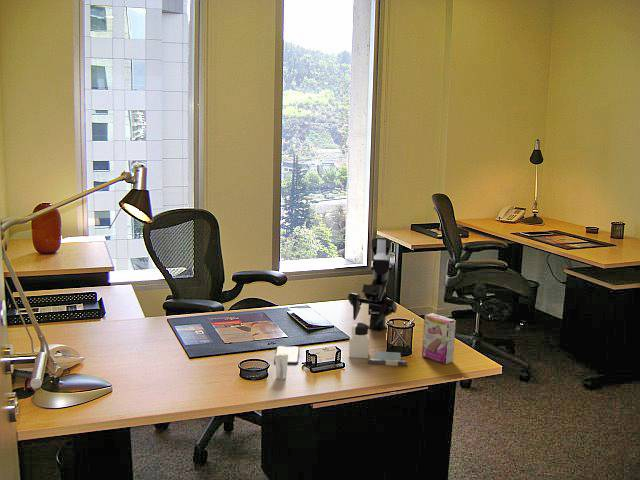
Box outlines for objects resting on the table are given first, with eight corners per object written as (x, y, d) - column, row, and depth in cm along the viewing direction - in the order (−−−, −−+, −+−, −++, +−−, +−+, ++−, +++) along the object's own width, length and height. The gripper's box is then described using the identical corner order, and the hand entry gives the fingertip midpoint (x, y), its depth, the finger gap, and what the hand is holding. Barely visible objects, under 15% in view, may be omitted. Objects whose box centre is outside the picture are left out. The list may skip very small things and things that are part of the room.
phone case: (298, 366, 253) (299, 350, 269) (298, 362, 253) (299, 346, 268) (273, 366, 253) (276, 349, 269) (273, 361, 253) (276, 345, 268)
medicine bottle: (368, 352, 268) (369, 321, 265) (367, 358, 261) (369, 327, 259) (349, 350, 269) (351, 320, 266) (348, 357, 262) (349, 326, 259)
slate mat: (374, 351, 268) (375, 351, 268) (400, 353, 267) (400, 352, 267) (374, 361, 259) (374, 360, 259) (400, 362, 258) (400, 361, 258)
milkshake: (272, 375, 243) (272, 347, 241) (287, 375, 243) (288, 347, 241) (272, 380, 238) (272, 352, 236) (288, 380, 239) (288, 352, 237)
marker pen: (368, 362, 258) (368, 357, 257) (406, 364, 256) (407, 359, 256) (368, 363, 256) (368, 359, 255) (407, 366, 255) (407, 361, 254)
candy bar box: (421, 356, 265) (423, 314, 261) (429, 353, 268) (431, 312, 265) (445, 365, 257) (448, 322, 253) (453, 362, 260) (456, 319, 257)
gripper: (350, 272, 272) (336, 306, 264) (395, 279, 263) (382, 315, 256) (358, 287, 280) (345, 321, 273) (402, 294, 271) (389, 329, 264)
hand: (365, 321), depth 266 cm, fingers open, 9 cm apart
